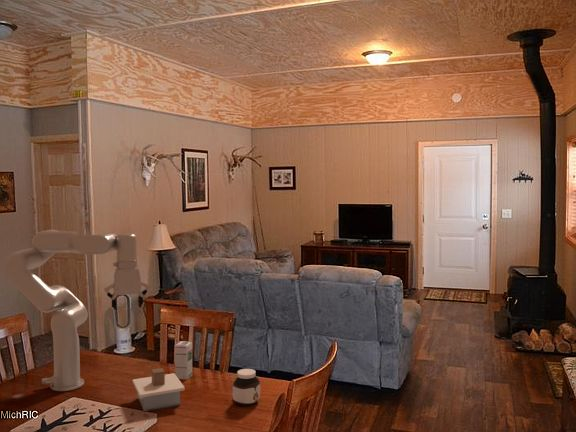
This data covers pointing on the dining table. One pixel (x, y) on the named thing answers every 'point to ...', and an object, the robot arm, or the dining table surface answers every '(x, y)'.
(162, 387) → the lid
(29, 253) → the robot arm
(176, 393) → the dish
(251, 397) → the spread jar
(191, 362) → the syrup box
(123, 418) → the dining table surface
